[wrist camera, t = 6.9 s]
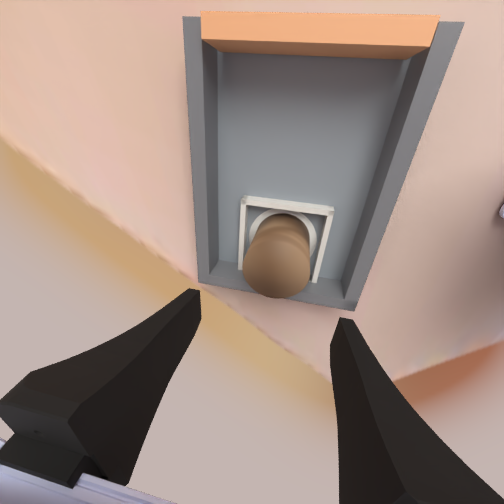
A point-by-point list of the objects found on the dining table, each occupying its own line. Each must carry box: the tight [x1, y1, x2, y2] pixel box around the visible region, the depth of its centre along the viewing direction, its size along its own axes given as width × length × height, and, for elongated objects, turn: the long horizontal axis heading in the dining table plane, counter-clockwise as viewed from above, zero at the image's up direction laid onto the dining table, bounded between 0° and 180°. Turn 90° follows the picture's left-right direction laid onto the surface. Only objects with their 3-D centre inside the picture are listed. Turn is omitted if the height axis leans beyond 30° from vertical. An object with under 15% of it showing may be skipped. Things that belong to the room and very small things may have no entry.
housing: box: [182, 16, 465, 311], centre depth 17 cm, size 13×17×3 cm
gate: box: [201, 11, 440, 60], centre depth 12 cm, size 10×1×3 cm, turn 86°
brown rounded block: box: [242, 213, 310, 298], centre depth 18 cm, size 4×4×5 cm
